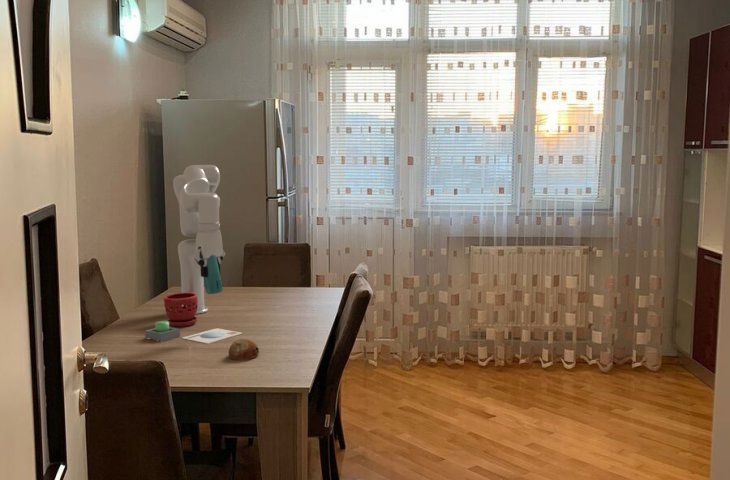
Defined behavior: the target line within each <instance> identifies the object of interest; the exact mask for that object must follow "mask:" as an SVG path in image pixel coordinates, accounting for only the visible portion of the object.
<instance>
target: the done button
mask: <svg viewBox="0 0 730 480" xmlns="http://www.w3.org/2000/svg"><path fill="white" fill-rule="evenodd" d="M154 325H155V327H154V328H156V332H161V333H162V332H166V331H169V327H170V324H169V322H168V320H161V321H156V322H154Z"/></svg>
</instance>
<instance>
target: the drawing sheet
mask: <svg viewBox="0 0 730 480" xmlns="http://www.w3.org/2000/svg"><path fill="white" fill-rule="evenodd" d="M242 334H244V332H240V331H234V330H229V329H223V328H218V327H217V328H213V329H208V330H205V331H202V332H201V331H200V332H198V333H195V334H190V335H187V336H183V337H181V339H182V340H186V339H187V341H192V342H197V343H202V344H207V345H208V344H213V343H216V342H219V341H222V340H226V339H229V338H233V337H236V336H239V335H242Z"/></svg>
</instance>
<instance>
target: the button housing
mask: <svg viewBox="0 0 730 480" xmlns="http://www.w3.org/2000/svg"><path fill="white" fill-rule="evenodd" d="M144 336H145V337H146V338H150V339H154V340H153V341H155V340H158V341H157V342H159V341H163V342H165V340H167V341H170V340H174V339H178V338H180V337H181V330H180V328H177V327H176V328H175V327H173V326H172V327H171V326H169V331H166V332H162V333H161V332H156V328H155V327H154V328H150V329H147V330H144ZM177 337H178V338H177ZM173 338H174V339H173ZM150 339H149V340H150ZM169 339H170V340H169Z"/></svg>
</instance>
